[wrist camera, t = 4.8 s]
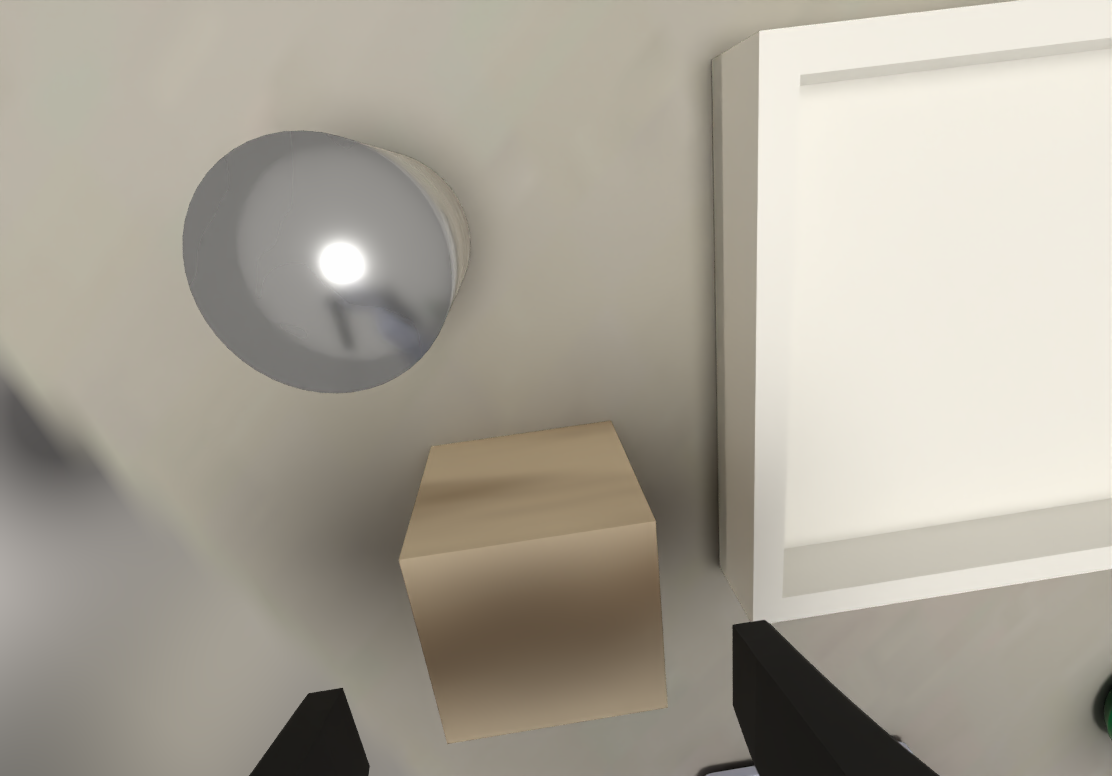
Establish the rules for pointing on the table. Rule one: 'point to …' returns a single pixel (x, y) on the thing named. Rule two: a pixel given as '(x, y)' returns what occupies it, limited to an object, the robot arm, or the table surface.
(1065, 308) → the tray
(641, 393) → the table surface
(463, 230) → the metal canister
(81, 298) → the table surface
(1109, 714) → the soda can
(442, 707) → the birch block
